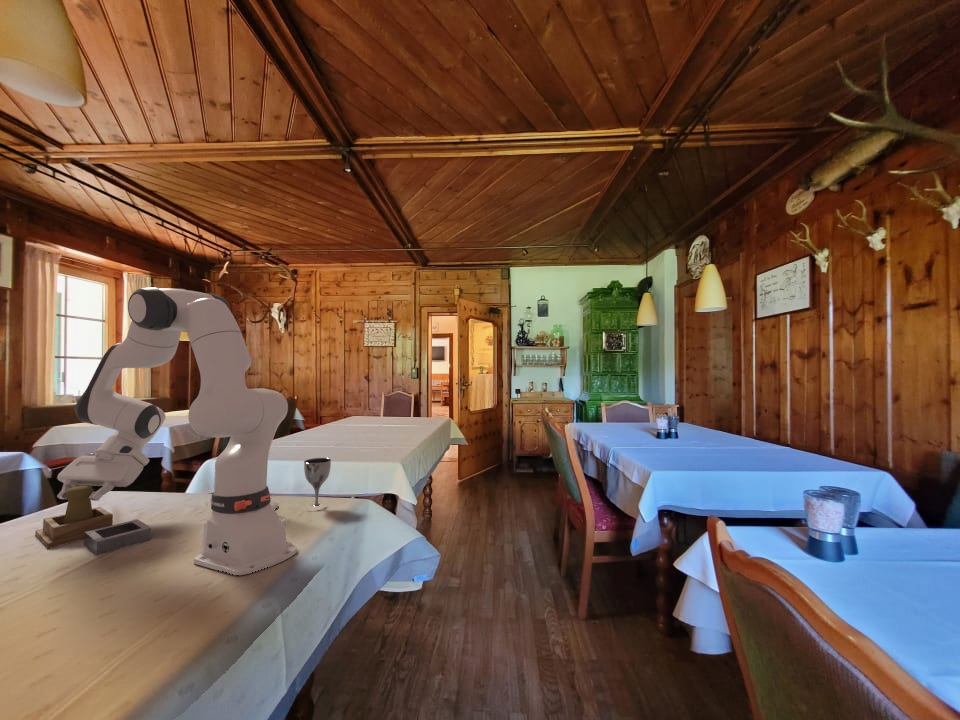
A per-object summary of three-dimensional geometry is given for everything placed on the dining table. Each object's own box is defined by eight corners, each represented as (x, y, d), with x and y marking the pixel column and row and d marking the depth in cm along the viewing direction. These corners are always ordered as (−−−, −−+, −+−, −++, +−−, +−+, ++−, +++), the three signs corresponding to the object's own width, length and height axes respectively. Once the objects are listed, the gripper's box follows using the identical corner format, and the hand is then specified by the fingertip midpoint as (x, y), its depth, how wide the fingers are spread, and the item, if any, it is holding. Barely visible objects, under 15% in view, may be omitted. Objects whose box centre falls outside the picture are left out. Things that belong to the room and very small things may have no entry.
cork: (72, 533, 99) (74, 490, 99) (55, 531, 100) (57, 488, 101) (100, 524, 105) (101, 483, 105) (83, 522, 106) (85, 482, 107)
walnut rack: (119, 530, 104) (119, 514, 104) (48, 548, 93) (48, 530, 93) (102, 519, 112) (103, 504, 112) (35, 534, 101) (36, 518, 101)
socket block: (151, 539, 99) (151, 527, 99) (96, 555, 90) (97, 542, 90) (136, 530, 104) (137, 519, 104) (83, 544, 96) (84, 532, 96)
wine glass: (304, 504, 126) (305, 458, 126) (330, 502, 128) (331, 457, 129) (301, 513, 118) (302, 464, 119) (328, 510, 121) (329, 462, 121)
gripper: (76, 446, 111) (32, 491, 101) (140, 448, 109) (102, 494, 99) (92, 459, 115) (52, 502, 105) (155, 461, 113) (119, 506, 103)
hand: (77, 498), depth 102 cm, fingers open, 8 cm apart
